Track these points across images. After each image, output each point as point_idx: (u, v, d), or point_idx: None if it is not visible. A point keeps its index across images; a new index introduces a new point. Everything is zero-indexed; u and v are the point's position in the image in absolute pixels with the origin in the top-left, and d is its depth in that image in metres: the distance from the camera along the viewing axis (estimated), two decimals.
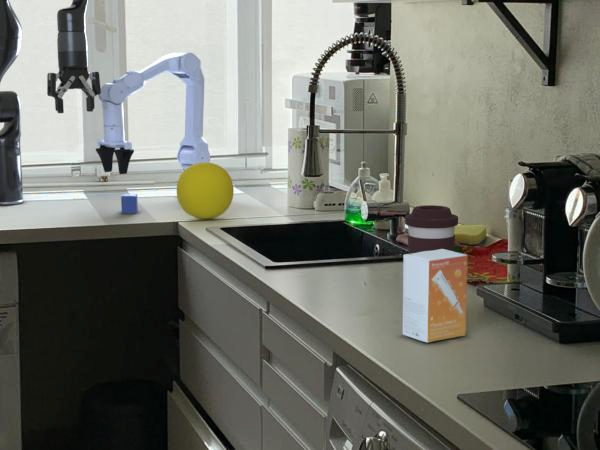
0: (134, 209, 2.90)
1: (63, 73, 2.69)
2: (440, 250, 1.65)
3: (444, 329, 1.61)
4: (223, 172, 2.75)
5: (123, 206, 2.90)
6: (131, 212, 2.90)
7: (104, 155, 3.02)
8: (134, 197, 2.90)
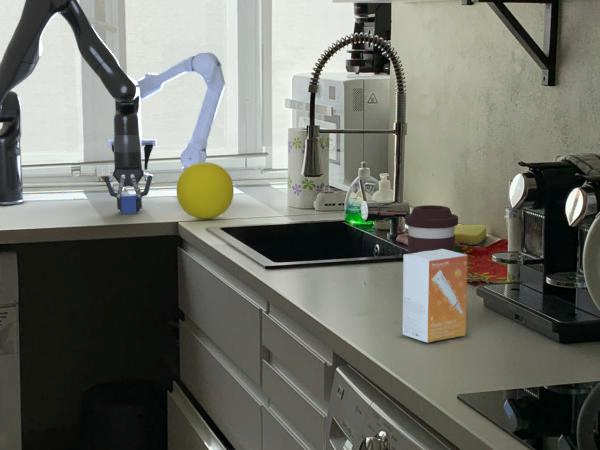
0: (134, 209, 2.90)
1: None
2: (440, 250, 1.65)
3: (444, 329, 1.61)
4: (223, 172, 2.75)
5: (123, 206, 2.90)
6: (131, 212, 2.90)
7: None
8: (134, 197, 2.90)
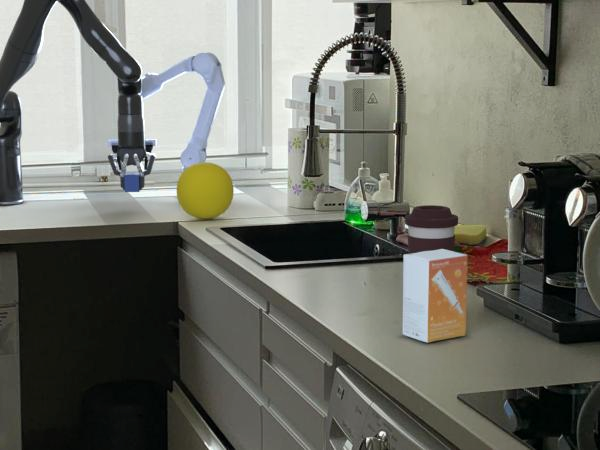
0: (137, 188, 2.98)
1: None
2: (440, 250, 1.65)
3: (444, 329, 1.61)
4: (223, 172, 2.75)
5: (126, 184, 2.97)
6: (134, 190, 2.98)
7: None
8: (137, 176, 2.97)
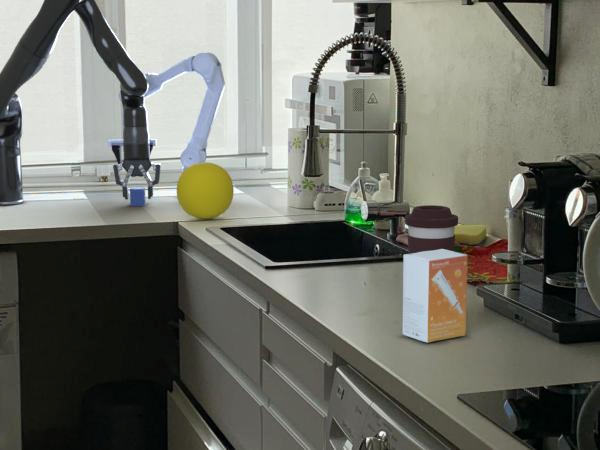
0: (142, 201, 3.04)
1: None
2: (440, 250, 1.65)
3: (444, 329, 1.61)
4: (223, 172, 2.75)
5: (132, 199, 3.04)
6: (139, 204, 3.05)
7: (120, 154, 3.18)
8: (142, 190, 3.04)
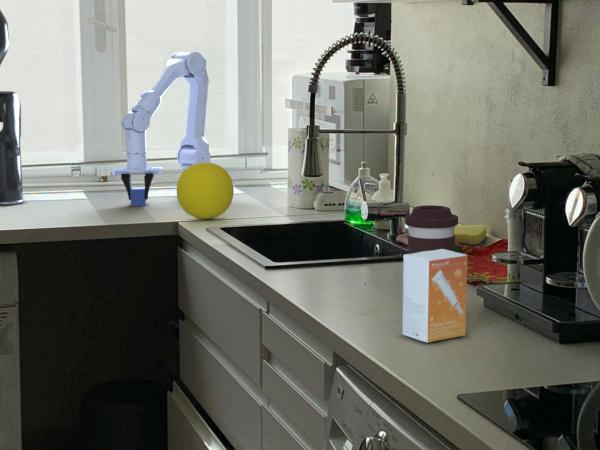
0: (143, 201, 3.04)
1: None
2: (440, 250, 1.65)
3: (444, 329, 1.61)
4: (223, 172, 2.75)
5: (132, 199, 3.04)
6: (140, 204, 3.05)
7: (129, 183, 3.04)
8: (143, 190, 3.04)
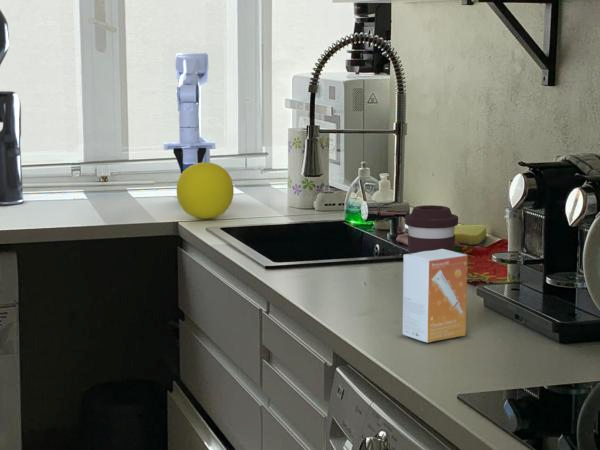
0: None
1: None
2: (440, 250, 1.65)
3: (444, 329, 1.61)
4: (223, 172, 2.75)
5: None
6: None
7: (182, 157, 2.98)
8: None
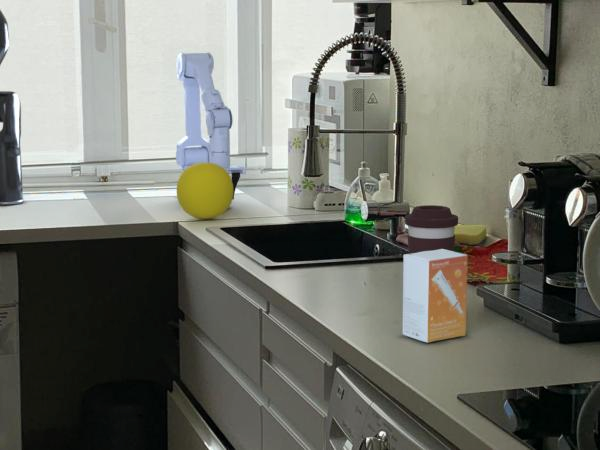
0: None
1: None
2: (440, 250, 1.65)
3: (444, 329, 1.61)
4: (223, 172, 2.75)
5: None
6: None
7: None
8: None
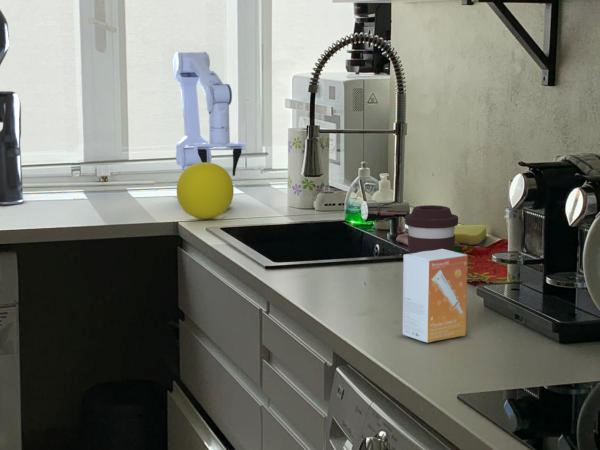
0: None
1: None
2: (440, 250, 1.65)
3: (444, 329, 1.61)
4: (223, 172, 2.75)
5: None
6: None
7: (206, 158, 2.95)
8: None
